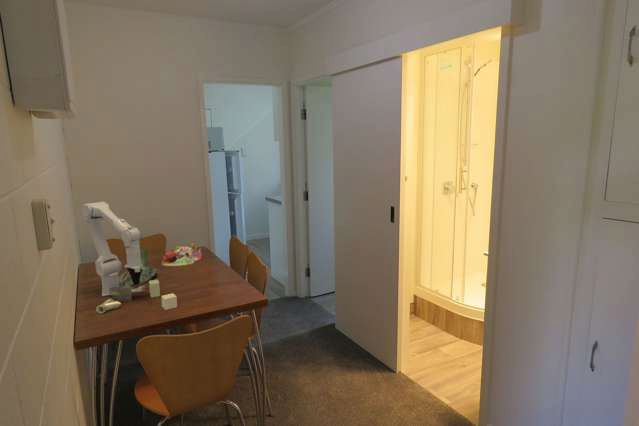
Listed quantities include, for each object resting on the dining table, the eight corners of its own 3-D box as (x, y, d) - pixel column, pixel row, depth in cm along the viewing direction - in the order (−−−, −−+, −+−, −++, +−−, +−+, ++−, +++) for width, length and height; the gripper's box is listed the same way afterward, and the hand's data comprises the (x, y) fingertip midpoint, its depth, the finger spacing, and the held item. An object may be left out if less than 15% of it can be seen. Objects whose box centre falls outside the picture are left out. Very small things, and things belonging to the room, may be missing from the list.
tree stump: (105, 284, 202) (109, 247, 203) (140, 282, 220) (143, 248, 222) (129, 287, 193) (132, 250, 194) (163, 285, 211) (167, 250, 213)
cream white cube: (162, 306, 170) (161, 295, 169) (173, 303, 173) (172, 293, 172) (165, 310, 166) (164, 299, 165) (177, 307, 169) (176, 296, 168)
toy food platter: (163, 257, 252) (162, 243, 250) (201, 254, 259) (200, 240, 257) (160, 268, 228) (159, 252, 227) (202, 264, 235) (201, 249, 234)
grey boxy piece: (110, 300, 178) (109, 287, 177) (131, 297, 182) (130, 284, 181) (110, 304, 173) (109, 291, 172) (131, 300, 177) (130, 287, 176)
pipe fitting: (122, 307, 171) (106, 306, 171) (122, 298, 171) (106, 297, 171) (112, 314, 163) (96, 313, 163) (112, 306, 163) (96, 305, 163)
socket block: (149, 293, 186) (148, 280, 185) (158, 292, 188) (157, 279, 187) (150, 297, 181) (149, 284, 180) (160, 295, 183) (159, 283, 182)
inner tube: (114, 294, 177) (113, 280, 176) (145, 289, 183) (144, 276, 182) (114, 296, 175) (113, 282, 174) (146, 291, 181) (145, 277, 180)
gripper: (121, 253, 181) (123, 281, 183) (126, 259, 169) (129, 289, 171) (137, 250, 185) (139, 278, 187) (144, 257, 173) (146, 286, 175)
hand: (135, 283), depth 180 cm, fingers closed on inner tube, 2 cm apart
